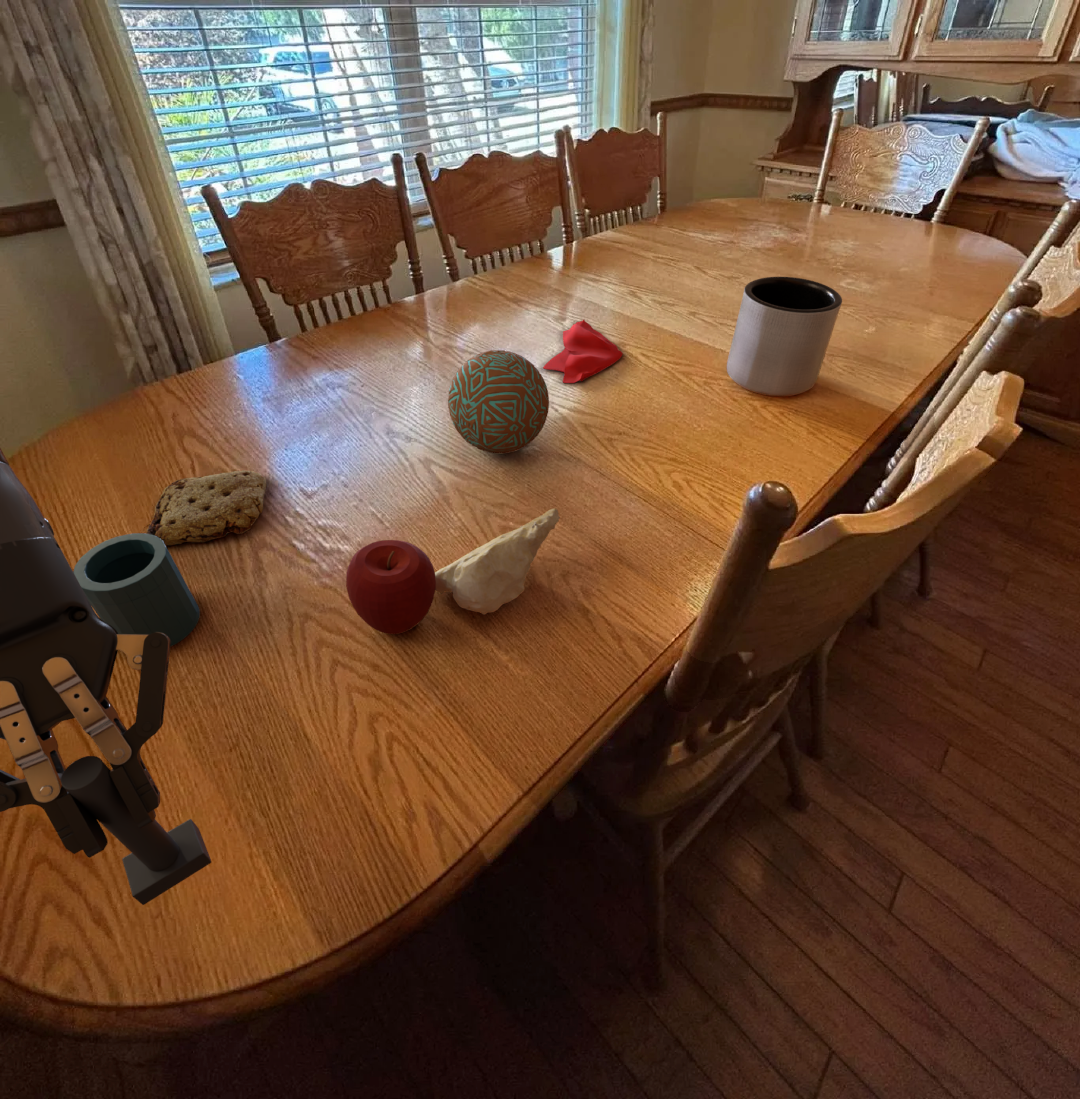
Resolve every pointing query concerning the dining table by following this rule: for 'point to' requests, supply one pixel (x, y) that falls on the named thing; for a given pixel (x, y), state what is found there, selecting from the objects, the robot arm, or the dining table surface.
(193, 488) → the pastry
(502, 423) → the decorative sphere
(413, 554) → the apple
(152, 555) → the crock
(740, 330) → the planter
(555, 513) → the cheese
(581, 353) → the cloth
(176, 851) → the t-shaped mushroom stamp
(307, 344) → the dining table surface
